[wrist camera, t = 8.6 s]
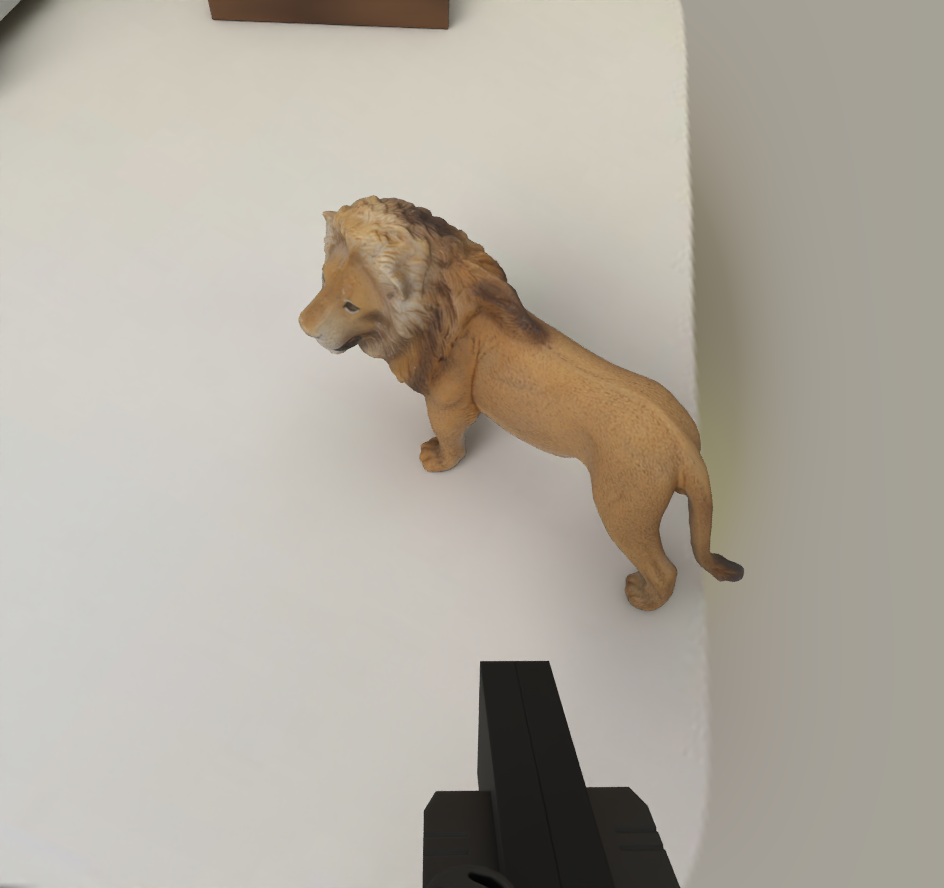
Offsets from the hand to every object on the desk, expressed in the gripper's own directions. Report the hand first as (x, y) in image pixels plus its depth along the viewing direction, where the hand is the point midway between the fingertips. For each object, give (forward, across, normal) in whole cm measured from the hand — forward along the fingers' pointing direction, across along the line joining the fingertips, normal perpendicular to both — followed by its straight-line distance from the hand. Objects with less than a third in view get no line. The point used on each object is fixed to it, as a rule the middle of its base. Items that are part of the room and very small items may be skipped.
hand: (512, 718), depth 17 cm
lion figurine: (+10, +1, +2) cm, 10 cm away
